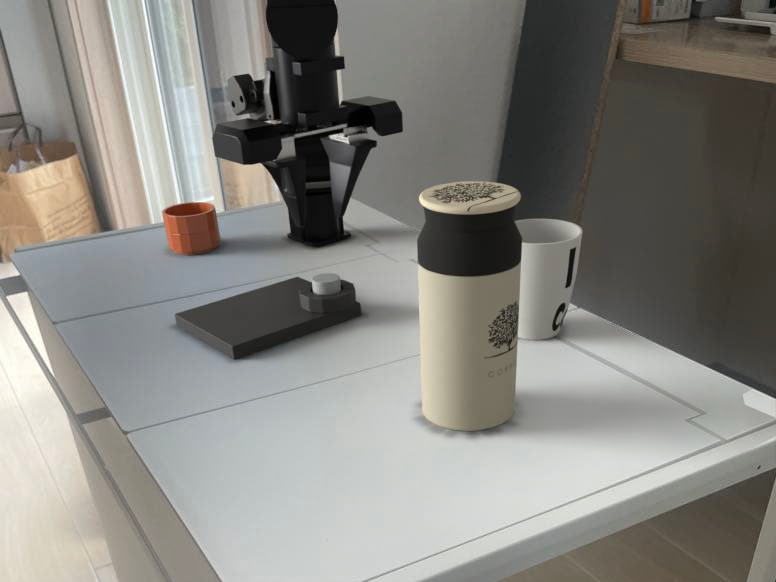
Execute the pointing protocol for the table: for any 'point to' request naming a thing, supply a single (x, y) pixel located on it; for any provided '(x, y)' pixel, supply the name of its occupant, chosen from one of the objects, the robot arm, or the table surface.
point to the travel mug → (469, 303)
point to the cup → (546, 275)
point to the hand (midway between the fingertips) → (320, 221)
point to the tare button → (326, 284)
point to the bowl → (191, 228)
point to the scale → (268, 316)
